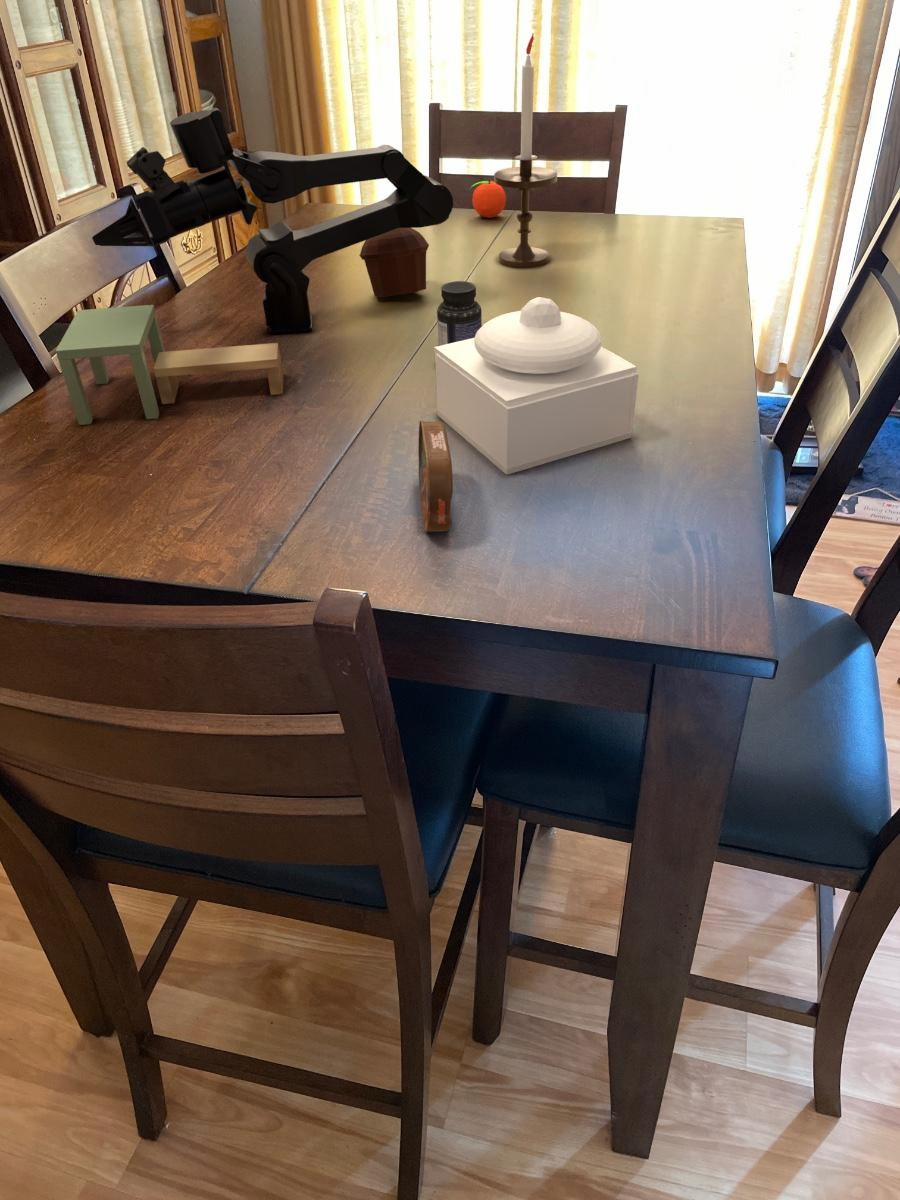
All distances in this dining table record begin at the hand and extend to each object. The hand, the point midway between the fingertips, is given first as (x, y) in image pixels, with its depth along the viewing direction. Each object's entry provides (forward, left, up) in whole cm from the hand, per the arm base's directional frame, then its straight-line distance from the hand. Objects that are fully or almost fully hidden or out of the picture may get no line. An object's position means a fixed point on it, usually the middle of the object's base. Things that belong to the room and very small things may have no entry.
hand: (95, 241), depth 121 cm
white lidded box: (-54, +34, -16) cm, 66 cm away
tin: (-40, +51, -16) cm, 67 cm away
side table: (-2, +16, -16) cm, 23 cm away
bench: (-15, +16, -16) cm, 27 cm away
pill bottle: (-48, +14, -16) cm, 53 cm away
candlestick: (-66, -30, -16) cm, 75 cm away
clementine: (-64, -59, -16) cm, 89 cm away
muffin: (-43, -15, -15) cm, 48 cm away
